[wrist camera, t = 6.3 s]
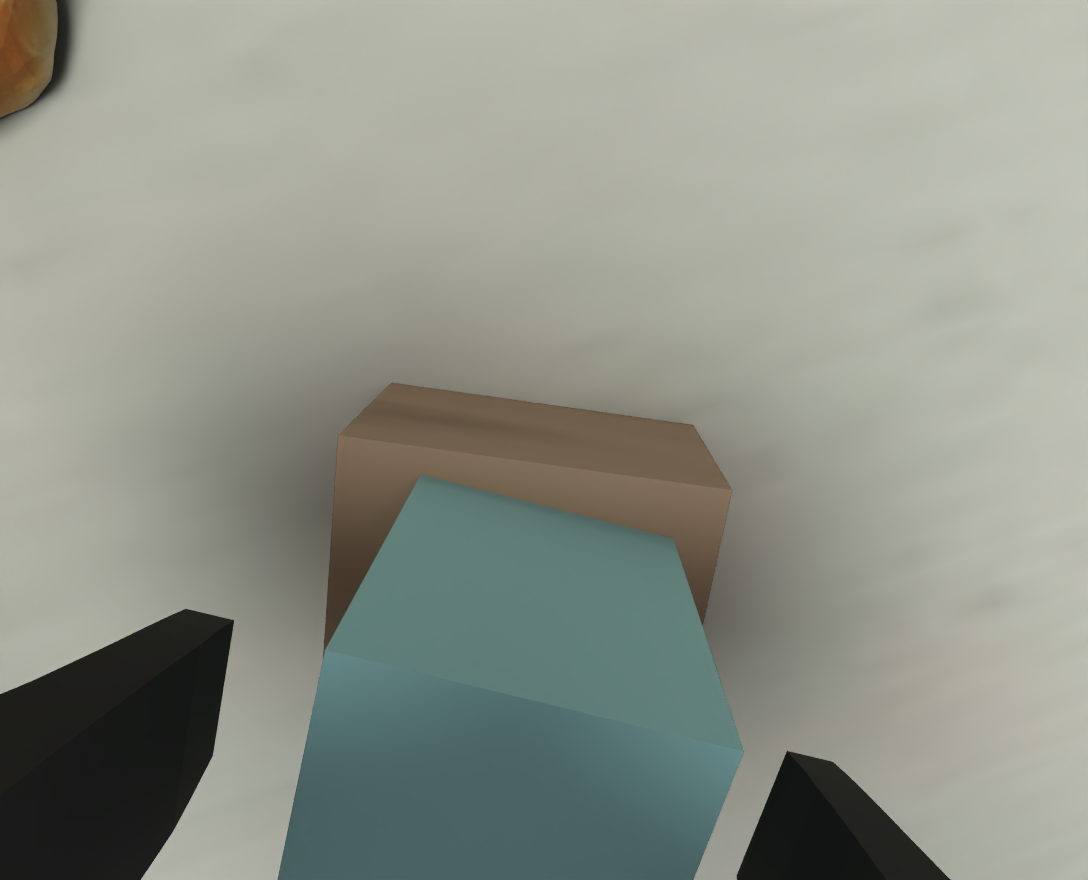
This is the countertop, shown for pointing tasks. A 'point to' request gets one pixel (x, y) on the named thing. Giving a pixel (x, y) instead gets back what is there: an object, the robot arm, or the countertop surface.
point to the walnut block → (521, 475)
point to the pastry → (25, 51)
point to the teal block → (513, 706)
